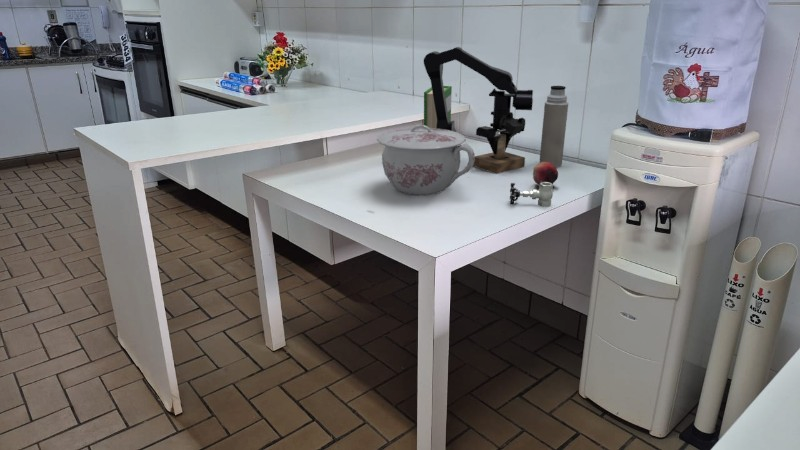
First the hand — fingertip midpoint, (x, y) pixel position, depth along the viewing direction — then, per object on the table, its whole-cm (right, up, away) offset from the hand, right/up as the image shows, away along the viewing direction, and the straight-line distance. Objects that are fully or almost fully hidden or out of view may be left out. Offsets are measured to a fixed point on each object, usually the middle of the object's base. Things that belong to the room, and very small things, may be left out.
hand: (499, 153), depth 197 cm
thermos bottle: (+19, -4, +4) cm, 20 cm away
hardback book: (-21, +5, +25) cm, 33 cm away
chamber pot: (-29, -15, -21) cm, 39 cm away
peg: (0, -2, +1) cm, 3 cm away
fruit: (+11, -14, -20) cm, 27 cm away
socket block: (0, -5, +2) cm, 5 cm away
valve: (+3, -20, -35) cm, 40 cm away
